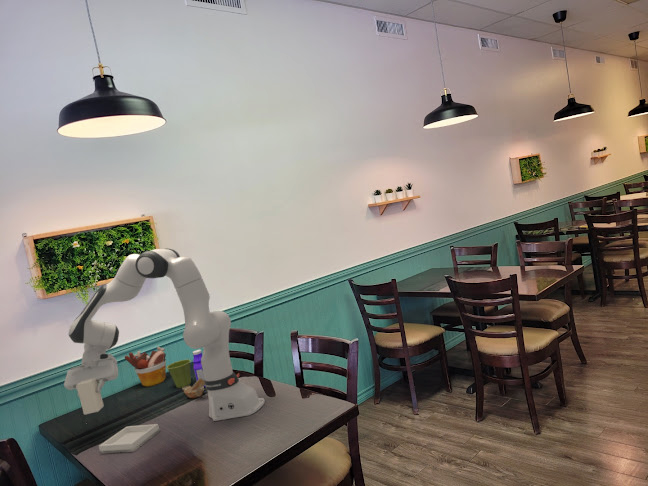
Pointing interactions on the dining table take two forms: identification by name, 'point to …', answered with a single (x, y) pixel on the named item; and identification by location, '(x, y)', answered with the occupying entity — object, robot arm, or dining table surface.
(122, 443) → the tray
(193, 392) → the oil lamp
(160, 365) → the bucket of meat
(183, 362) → the plant pot
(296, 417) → the dining table surface
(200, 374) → the bottle
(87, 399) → the white upright block
